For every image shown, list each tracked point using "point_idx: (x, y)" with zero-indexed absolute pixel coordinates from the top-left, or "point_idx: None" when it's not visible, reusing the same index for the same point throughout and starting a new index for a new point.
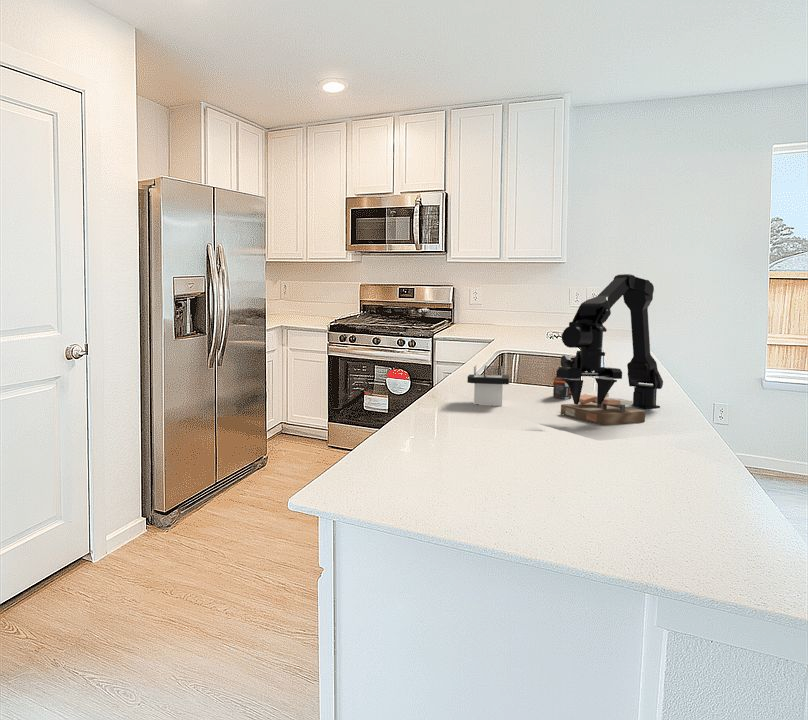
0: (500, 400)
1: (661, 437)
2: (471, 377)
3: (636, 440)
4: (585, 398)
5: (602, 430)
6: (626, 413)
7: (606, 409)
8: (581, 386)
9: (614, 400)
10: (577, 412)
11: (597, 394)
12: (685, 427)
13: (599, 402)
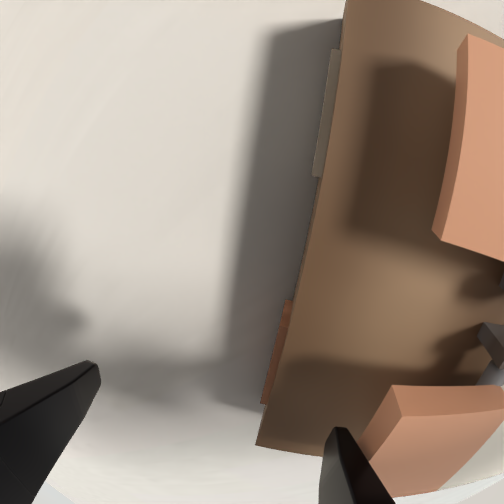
0: None
1: None
2: None
3: (166, 491)
4: (498, 210)
5: (170, 429)
6: None
7: (448, 371)
8: (27, 497)
9: (391, 496)
10: (316, 202)
11: (346, 486)
12: (448, 492)
13: (328, 446)
